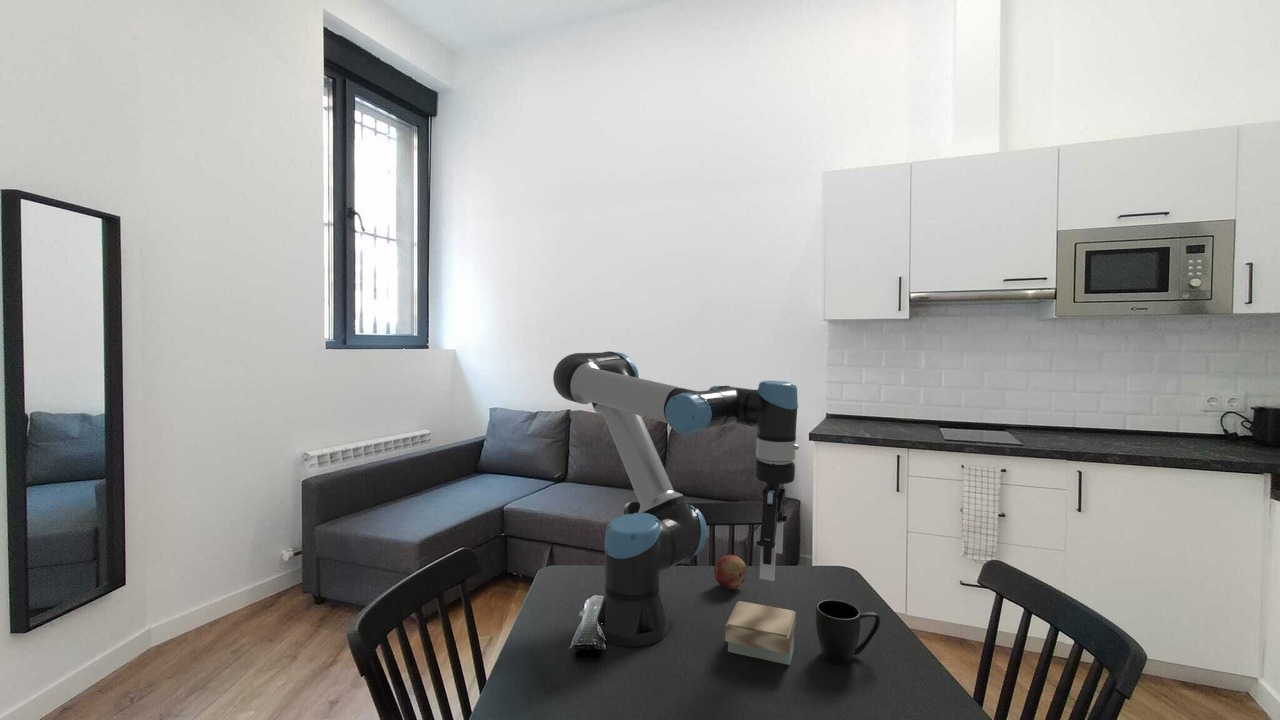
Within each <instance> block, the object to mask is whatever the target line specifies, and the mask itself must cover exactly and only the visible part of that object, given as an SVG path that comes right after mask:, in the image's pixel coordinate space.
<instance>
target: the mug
mask: <svg viewBox="0 0 1280 720" xmlns="http://www.w3.org/2000/svg"><path fill="white" fill-rule="evenodd" d="M868 617H870V618H871V617H872V618H874V622H873V626H872V627H871V630H869V633H868V634H867V635H866V636H865V638H864V640H863V641H862V642H861V643H860V644H859V645H858V642H859V639H860V631H861V619H865V618H868ZM880 623H881V617H880V615H879V614H878V613H877V612H872V611H862V612H861V611H860V609H859V608H858V607H857V606H856V605H854V604H852V603H850V602H847V601H843V600H839V599H825V600H824V599H823V600H821V601H818V602H817V603H816V606H815V627H816V634H817V638H818V642H819V646H820V650H821V653H822V654H821V655H822V657H823V659H825V660H826V661H827V662H830V663H832V664H835V665H848V664H850V663H851V662H852V661H853V657H854V656H857V655H858V656H859V654H861V653H862V652H863V651H864V650H865V648H866V647H867V646H868V645H869V643H870V642H871V641H872V639H873V638H874V636H875V635H876V633H877V631H878V630H879V627H880Z"/></svg>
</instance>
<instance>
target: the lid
mask: <svg viewBox="0 0 1280 720" xmlns="http://www.w3.org/2000/svg"><path fill="white" fill-rule="evenodd" d="M796 620H797V612H796V611H794V610H792V609H786V608H782V607H781V608H780V607H775V606H769V605H764V604H758V603H753V602H747V601H743V600H742V601H741V600H738V601H737V600H736V604H735V605H734V607H733V609H732V611H731V612H730V615H729V617H728V619H727V622H726V624H725V633H724V634H725V635H724V637H725V638H724V640H725V641H724V642H727V643H728V642H733V643H738V644H743V645H747V646H752V647H757V648H762V649H767V650H771V651H776V652H781V653H786V654H789V650H790V646H791V642H792V638H793V634H794V635H795V631H796V630H795V629H796V623H797V622H796Z"/></svg>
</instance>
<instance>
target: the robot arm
mask: <svg viewBox="0 0 1280 720" xmlns="http://www.w3.org/2000/svg"><path fill="white" fill-rule="evenodd" d="M553 371H554V372H553V378H552V380H553V385H554V388H555V390H556V392H557V394H559V395H560V396H561V397H562V398H563V399H565V400H566V401H567V400H568V401H570V402H573V403H578V404H581V405H589V404H590V403H591V405H592V408H593V410H594V411H595V412H596V413H598V414H601V415H602V416H603V419H604V420H605V423H606V425H607V427H608V431H609V432H610V434H611V437H612V440H613V442H614V445H615V447H616V450H617V452H618V455H619V457H620V460H621V461H622V464H623V468H625V469H624V470H625V471H626V473H627V476H628V478H629V481H630V483H631V486H632V489H633V490H634V492H635V495H636V498H637V500H638V502H639V506H640V507H639V510H638V512H634V513H626V514H622V515H619V516H617V517H616V518H614V519H612V520H611V521H610V522H608V525H607V526H606V529H605V537H604V538H605V539H604V543H603V547H604V548H603V549H604V594H603V598H602V601H601V604H600V607H599V611H598V613H597V617H596V623H597V622H598V624H599V626H600V627H601V629H602V631H603V633H604V635H605V639H606V641H605V642H606V643H608V644H611V645H614V646H617V647H618V646H619V647H623V648H639V647H645V646H646V647H647V646H650V645H654V644H655V643H657V642H659V641H661V640H662V639H664V637H665V636H666V634H668V629H669V627H668V624H669V623H668V622H669V621H668V615H667V612H666V608H665V605H664V603H663V599H662V597H661V593H660V582H661V581H660V577H661V576H660V575H661V572H663V571H665V570H668V569H669V568H672V567H674V566H676V565H678V564H681V563H683V562H686V561H688V560H691V559H692V558H693V557H694V556H696V555H697V554H699V553H700V552H701V551H702V549H703V548H704V546H705V544H706V540H707V537H708V528H707V523H706V520H705V517H704V515H703V514H702V512H701V511H700V510H699V509H698V508H695V506H694V505H691V504H688V503H687V502H686V500H685V497H684V494H683V493H680V492H679V491H678V492H677V491H675V490H674V488H673V485H672V483H671V481H670V479H669V476H668V474H667V472H666V470H665V467H664V465H663V463H662V460H661V458H660V456H659V454H658V451H657V449H656V447H655V445H654V442H653V440H652V438H651V434H650V433H649V431H648V428H647V426H646V424H645V422H644V420H643V417H644V418H647V419H651V420H654V421H658V422H662V423H664V424H668V425H669V427H671V429H672V430H673V431H674V432H676V433H678V434H697V433H699V432H703V431H707V430H711V429H715V428H721V427H725V426H726V427H727V426H731V425H739V426H749V427H754V428H755V427H756V440H755V441H756V442H755V444H756V445H755V456H756V458H757V459H756V461H755V478H756V479H757V480H758V481H761V482H764V483H766V485H765V486H764V488H763V490H762V499H763V501H762V514H761V515H762V516H761V525H760V526H761V527H760V537H759V540H756V546H759V547H760V553H759V554H760V557H759V560H760V561H759V580H765V581H771V582H774V581H775V576H776V554H781V555H782V554H783V545H784V544H783V543H784V542H783V541H784V540H783V539H784V522H787V520H788V516H787V515H785V514H786V512H785V499H786V497H785V496H786V488H785V485H787V484H790V483H793V482H794V481H795V476H796V475H795V474H796V463H795V462H794V461H795V459H796V451H798V450H799V449H800V447H799V445H798V444H796V442H797V421H798V409H799V404H798V403H799V402H798V386H797V385H796V384H795V383H793V382H791V381H782V380H763V381H760V382H759V383H758V387H757V389H752V388H742V387H735V386H730V385H713V386H711V387H709V389H708V390H693V389H688V388H684V387H679V386H675V385H671V384H666V383H662V382H658V381H653V380H648V379H644V378H640V377H639V371H638V368H637V366H636V364H635V362H634V361H633V359H631V357H630V356H628V355H627V354H625V353H622V352H616V351H615V352H614V351H603V352H576V353H575V352H574V353H572V354H568V355H567V356H565V357H563V358H562V359H561V360H559V362H558V363H557V364H556V367H555V368H554V370H553ZM601 623H603V624H601Z"/></svg>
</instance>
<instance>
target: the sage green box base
mask: <svg viewBox="0 0 1280 720" xmlns="http://www.w3.org/2000/svg"><path fill="white" fill-rule="evenodd" d="M794 647H795V633H794V634H793V638H792V642H791V646H790V650H789V654H786V653H781V652H776V651H771V650H767V649H762V648H757V647H752V646H747V645H743V644H738V643H733V642H728V641H727V652H728V653H733V654H737V655H742V656H746V657H750V658H756V659H759V660H760V659H761V660H765V661H769V662H774V663H779V664H784V665H786V666H787V665H788V666H790V665H791V663H792V658H793V654H794V650H795V648H794Z"/></svg>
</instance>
